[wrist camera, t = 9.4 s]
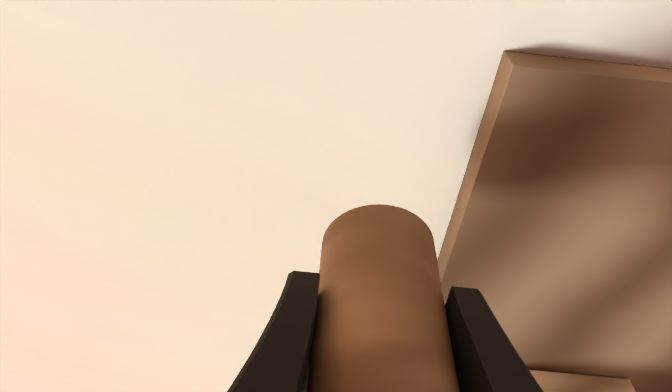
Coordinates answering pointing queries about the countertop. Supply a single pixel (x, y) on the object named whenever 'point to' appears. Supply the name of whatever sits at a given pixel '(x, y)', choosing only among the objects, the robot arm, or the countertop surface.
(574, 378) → the hollow square maple frame
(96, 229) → the countertop surface
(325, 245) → the dowel
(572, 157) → the backstop board
